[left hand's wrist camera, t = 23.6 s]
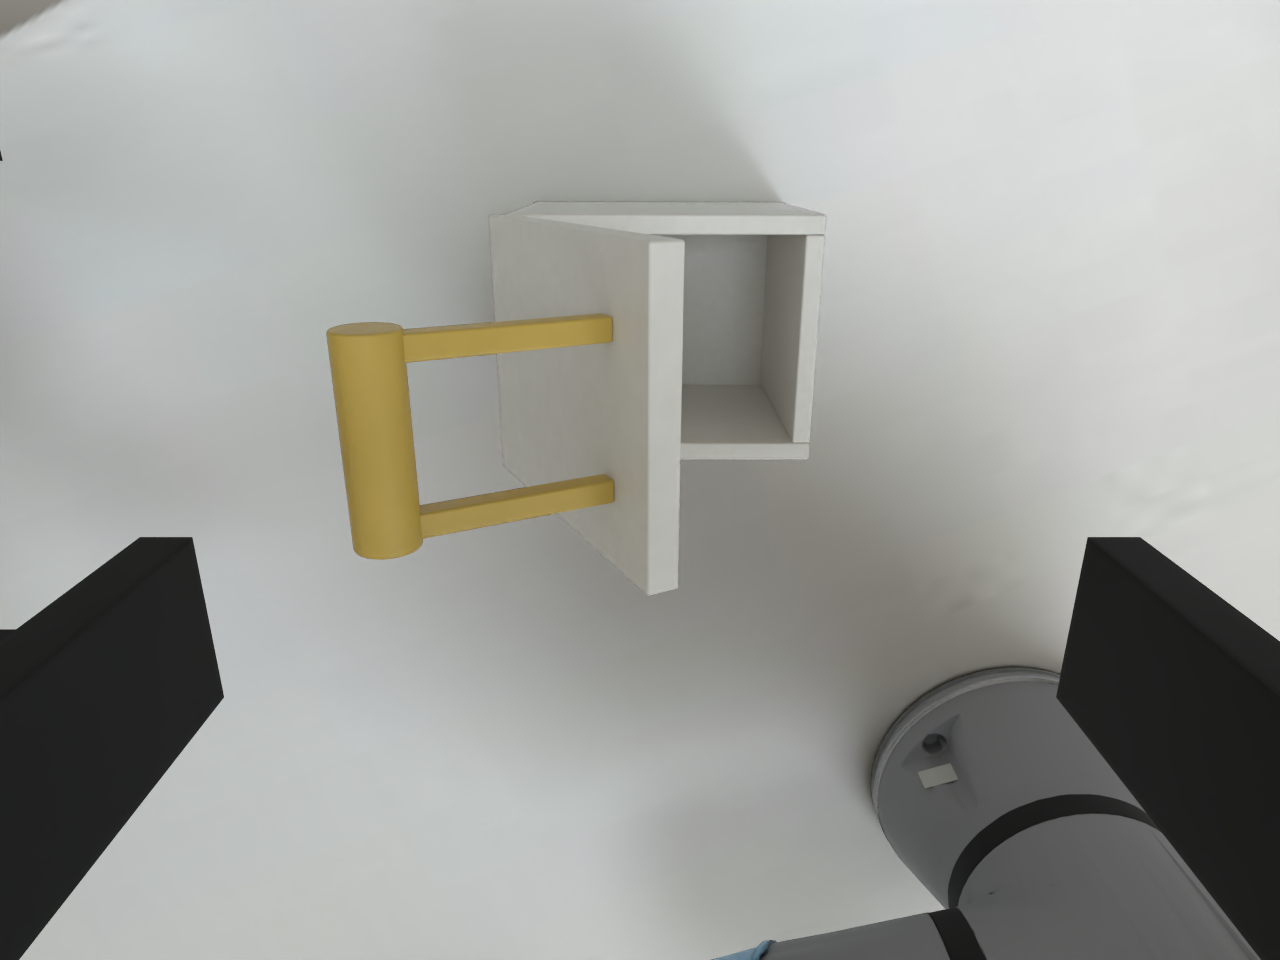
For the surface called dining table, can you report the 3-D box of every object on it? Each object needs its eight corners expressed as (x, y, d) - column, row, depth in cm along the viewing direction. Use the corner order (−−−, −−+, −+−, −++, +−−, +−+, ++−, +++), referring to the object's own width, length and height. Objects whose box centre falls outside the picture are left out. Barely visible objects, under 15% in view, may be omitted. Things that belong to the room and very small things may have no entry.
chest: (782, 202, 41) (827, 214, 31) (771, 394, 44) (809, 460, 34) (535, 201, 41) (503, 213, 31) (543, 394, 44) (516, 460, 34)
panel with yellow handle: (686, 239, 21) (332, 254, 17) (679, 589, 24) (381, 663, 20) (514, 214, 31) (270, 220, 27) (526, 462, 34) (310, 496, 30)
